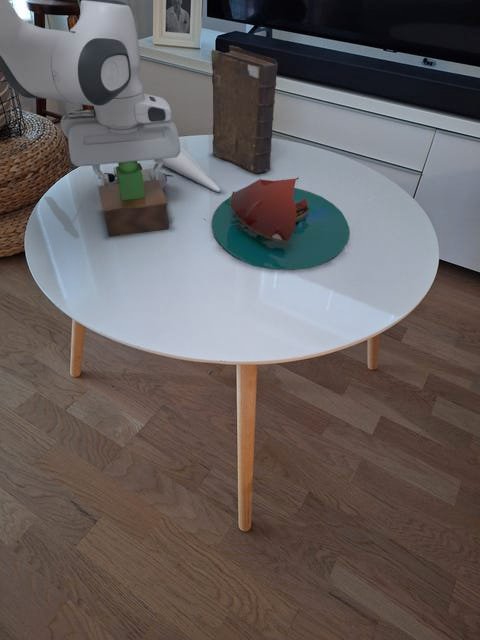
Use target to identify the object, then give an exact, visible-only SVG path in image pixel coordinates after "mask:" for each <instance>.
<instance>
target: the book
mask: <svg viewBox="0 0 480 640" xmlns="http://www.w3.org/2000/svg"><path fill="white" fill-rule="evenodd" d="M210 53H211V71H212V76H211V83H212V119H213V120H212V135H213V136H212V137H213V138H212V155H213V156H215V157H217V158H218V159H221V160H224V161H227V162H229V163H231V164H233V165H236V166H238V167H240V168H242V169H244V170H245V171H246V172H247V171H248V172H249V173H251V174H259V173H264V172H267V171H269V170H271V155H272V154H271V153H272V139H273V123H274V120H275V119H274V111H275V109H274V108H275V103H276V101H275V98H276V97H275V96H276V86H277V76H278V74H277V73H278V64H279V63H278V62H277V60H276V59H275V58H272V57H268V56H265V55H262V54H258V53H255V52H252V51H249V50H245V49H243V48H241V47H239V46H234V45H229V47H228V52H222V51H218V50H215V49H211V52H210Z"/></svg>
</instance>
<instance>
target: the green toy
mask: <svg viewBox="0 0 480 640" xmlns="http://www.w3.org/2000/svg"><path fill="white" fill-rule="evenodd" d="M138 163H139V162H138V161H133V162H122V163H117V164H118V165H117V166H115V167H116V171H117V177H118V182H117V184H119V190H120V194H121V198H122V200H131V199H139V198H145V192H144V184H143V175H142V172H141V169H140V166H139V164H138Z"/></svg>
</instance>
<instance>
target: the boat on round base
mask: <svg viewBox="0 0 480 640" xmlns="http://www.w3.org/2000/svg"><path fill="white" fill-rule="evenodd" d="M299 179H300V177H296V178H288V179H278V180H269V179H261V178H259V179H257V180H255V181H254V182H252V183H251V184H249V185H246V186H245V187H243V188H240V189H238V190H237V191H235V190H234V191H232V193H231V195H230V196H229V197H228V198H227V199H225V200H223V201H222V202H221V203H220V204H219V205H218V207H216V209H215V210H214V212H213V215H212V217H211V229H212V232H213V236H214V238H215V239H216V240H217V242H218V244H220V246H221V247H222V248H223V249H225V250H226V251H227V252H228V253H229V254H230V255H232V256H233V257H235V258H237V259H238V260H241V261H242V262H244V263H246V264H250V265H253V266H256V267H261V268H264V269H265V268H266V269H271V270H272V269H273V270H287V271H288V270H300V269H302V270H303V269H309V268H312V267H315V266H319V265H322V264H325V263H326V262H328V261H330V260H331V259H333V258H335V257H337V256H338V255H339V254H340V253H341V252H342V250H343V249H344V248H346V247H345V246H346V245H347V243H348V242H349V239H350V235H351V234H350V233H351V231H350V226H349V223H348V220H347V219H346V217H345V215H344V214H343V211H341V210H340V208H338V207H337V206H336V205H335V204H334V203H333V202H331V201H329V200H328V199H326V198H325V197H324V196H321V195H318V194H316V193H314V192H312V191H308V190H306V189H305V190H304V189H301V188H297V187H298V186H296V184H298V182H299V181H298V180H299ZM296 181H297V183H296Z"/></svg>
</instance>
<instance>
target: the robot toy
mask: <svg viewBox="0 0 480 640" xmlns="http://www.w3.org/2000/svg"><path fill="white" fill-rule="evenodd" d="M137 163H138V164H139V166H140V169H141V172H142V175H143V181H149V180H151V179H150V173H149V169H150V168H144V169H143V167H142V165H141V163H140V162H137ZM116 167H117V166H114V167H113V173H110V172H104V173H103V174H108V178H109V184H112V183H114V182H116V183H118V177H117V171H116ZM167 177H171V178H173V177H174V174H166V173H164V172H162V171H160V170H159V172H158V180H159V182H160V185H161V187H162V190H164V188H166V186H167V182H168V178H167ZM97 179H98V180H100V181H101V178H99V177H98V176H97Z"/></svg>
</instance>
